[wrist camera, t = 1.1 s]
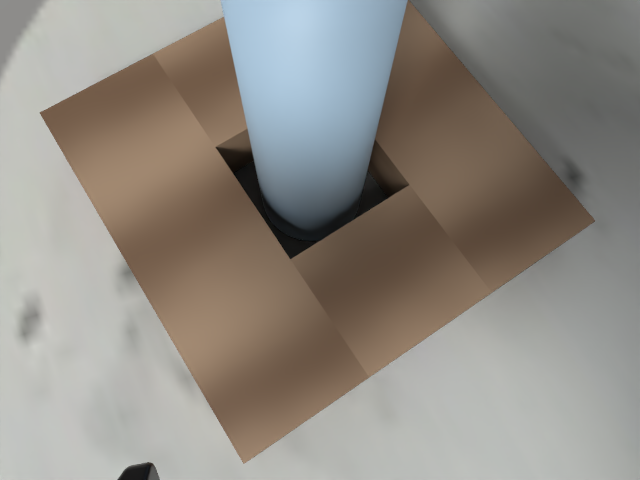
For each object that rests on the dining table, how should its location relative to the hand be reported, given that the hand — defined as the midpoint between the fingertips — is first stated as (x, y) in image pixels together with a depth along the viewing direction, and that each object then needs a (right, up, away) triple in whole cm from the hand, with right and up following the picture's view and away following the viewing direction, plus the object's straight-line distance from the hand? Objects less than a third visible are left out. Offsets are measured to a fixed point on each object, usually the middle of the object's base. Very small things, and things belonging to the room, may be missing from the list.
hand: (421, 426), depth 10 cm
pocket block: (-2, +5, +16) cm, 17 cm away
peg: (-2, +5, +16) cm, 17 cm away
